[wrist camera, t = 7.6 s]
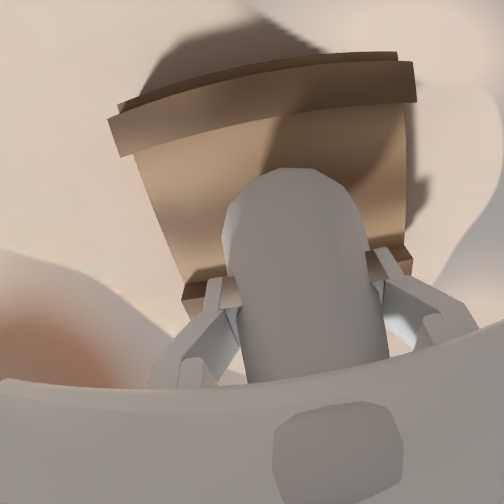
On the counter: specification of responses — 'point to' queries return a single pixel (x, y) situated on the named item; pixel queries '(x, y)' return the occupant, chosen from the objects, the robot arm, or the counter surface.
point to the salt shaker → (312, 329)
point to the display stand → (270, 147)
